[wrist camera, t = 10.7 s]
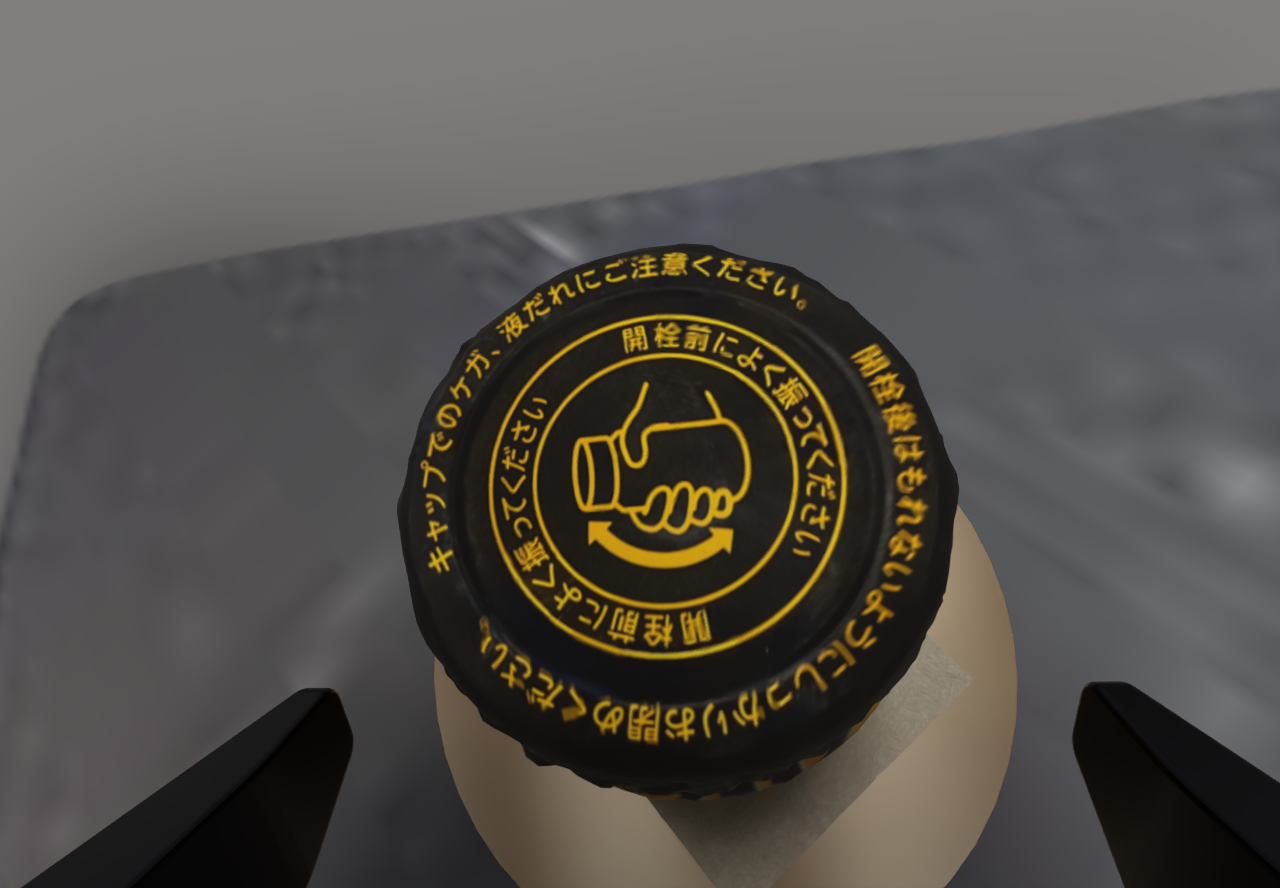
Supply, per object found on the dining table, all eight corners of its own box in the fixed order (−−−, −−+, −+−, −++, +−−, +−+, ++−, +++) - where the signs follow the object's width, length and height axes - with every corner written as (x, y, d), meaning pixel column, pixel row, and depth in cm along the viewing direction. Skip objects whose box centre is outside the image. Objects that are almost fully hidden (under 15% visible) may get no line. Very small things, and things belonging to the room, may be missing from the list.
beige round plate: (552, 1072, 16) (540, 1096, 15) (390, 508, 21) (374, 500, 20) (1127, 816, 16) (1151, 823, 15) (832, 318, 21) (836, 300, 20)
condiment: (717, 430, 19) (689, 57, 8) (971, 680, 16) (1492, 655, 5) (508, 617, 18) (137, 495, 7) (740, 914, 15) (752, 1517, 4)
